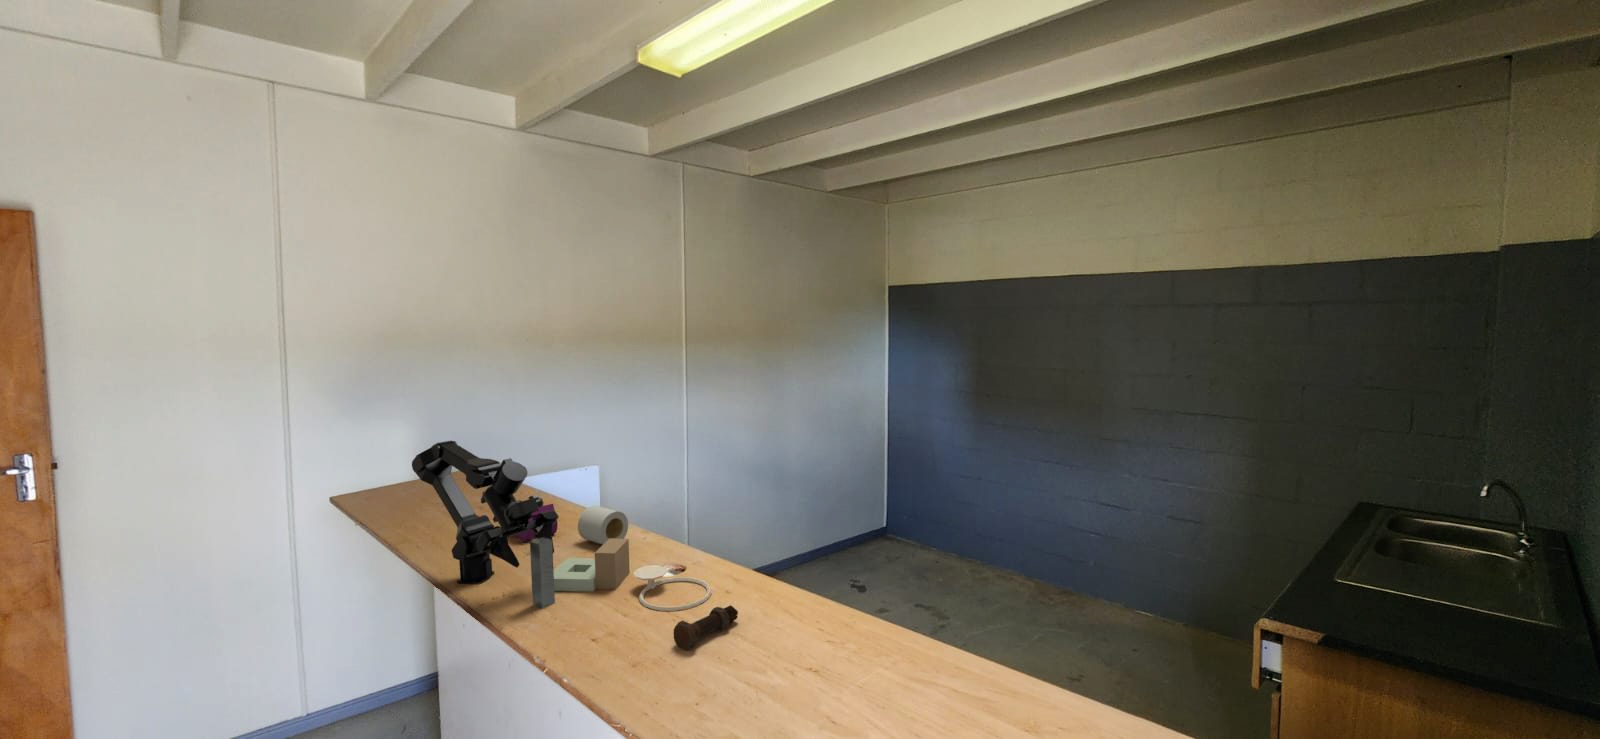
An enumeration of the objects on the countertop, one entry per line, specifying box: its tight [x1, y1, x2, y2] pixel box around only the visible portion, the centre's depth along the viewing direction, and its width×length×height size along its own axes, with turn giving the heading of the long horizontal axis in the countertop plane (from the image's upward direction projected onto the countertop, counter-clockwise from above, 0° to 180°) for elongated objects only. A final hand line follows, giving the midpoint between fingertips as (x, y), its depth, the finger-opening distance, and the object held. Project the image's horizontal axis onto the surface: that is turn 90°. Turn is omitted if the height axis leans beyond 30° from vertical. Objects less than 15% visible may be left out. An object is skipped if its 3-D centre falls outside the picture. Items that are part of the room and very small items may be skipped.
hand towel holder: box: [633, 564, 712, 612], centre depth 154 cm, size 17×4×21 cm
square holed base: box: [553, 538, 631, 593], centre depth 162 cm, size 17×13×9 cm
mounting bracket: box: [516, 503, 559, 542], centre depth 197 cm, size 10×8×18 cm
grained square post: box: [529, 537, 556, 609], centre depth 148 cm, size 3×3×15 cm
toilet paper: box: [577, 505, 629, 546], centre depth 188 cm, size 10×10×10 cm
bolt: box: [673, 605, 739, 651], centre depth 134 cm, size 6×5×15 cm
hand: (536, 559), depth 149 cm, fingers open, 9 cm apart
